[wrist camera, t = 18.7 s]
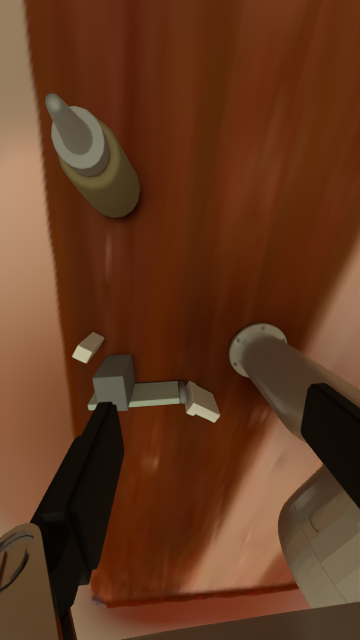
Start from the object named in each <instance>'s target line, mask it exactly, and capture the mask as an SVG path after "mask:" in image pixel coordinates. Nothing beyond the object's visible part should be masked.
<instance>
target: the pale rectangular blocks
mask: <svg viewBox="0 0 360 640" xmlns="http://www.w3.org/2000/svg"><path fill="white" fill-rule="evenodd" d="M103 340H104V337H102V336H100V335H98V334H96V333H94V332H92V333H91V334H90V335H89V336H88V337H87V338H86V339H85V340H83V341H82V342H81V343H80V344H79V345H78V346H77V348H76V350H75V352H74V354H73V356H72V357H74V358H76V359H78V360H80V361H82V362H84V363H87V362H88V361H89V359H90V358H91V357H92V356H93V355H94V353H95V352H96V351H97V350H98V349H99V347H100V346H101V344H102V342H103ZM185 390H186V397H187V402H186V403H185V406H186V413H188V414H190V415H192V416H194V415H195V414H197V415H199V416H201V417H204V418H206V419H208V420H210V421H212V422H214V423H215V422H216V420H217V419H218V418H219V417H220V413H219V410H218V408H217V405H216V402H215V399H214V396H213V394H212V393H210V392H208V391H206V390H204V389H202V388H200V387H199V386H197V385H196V384H195V383H193V382H191V381H189V382H188V383H187V385H186V386H185Z"/></svg>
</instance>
